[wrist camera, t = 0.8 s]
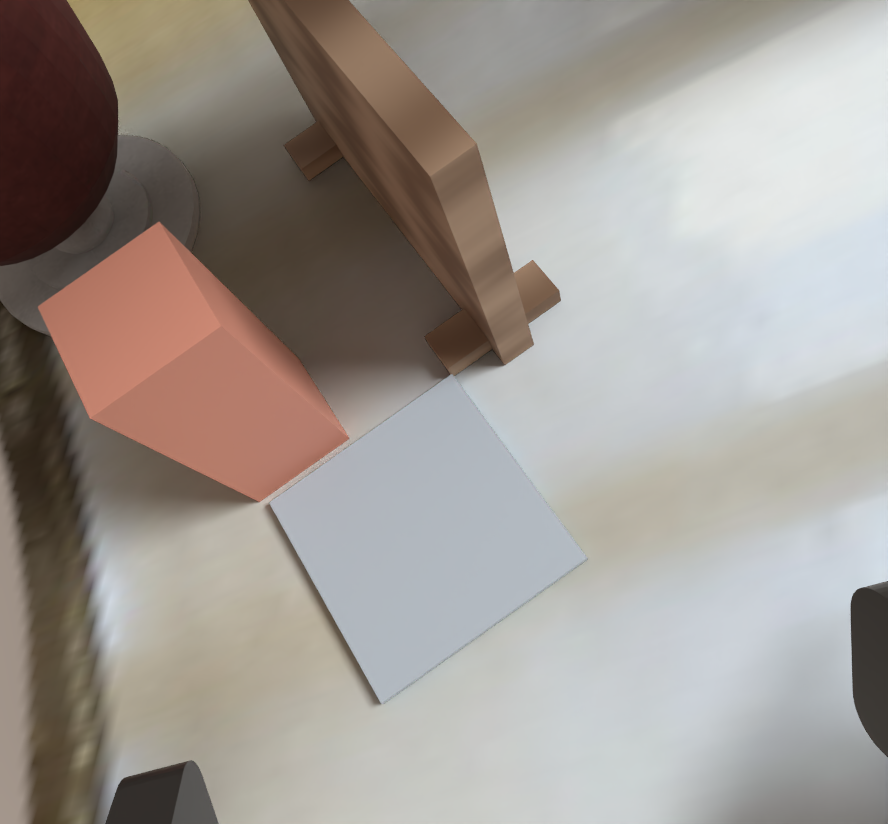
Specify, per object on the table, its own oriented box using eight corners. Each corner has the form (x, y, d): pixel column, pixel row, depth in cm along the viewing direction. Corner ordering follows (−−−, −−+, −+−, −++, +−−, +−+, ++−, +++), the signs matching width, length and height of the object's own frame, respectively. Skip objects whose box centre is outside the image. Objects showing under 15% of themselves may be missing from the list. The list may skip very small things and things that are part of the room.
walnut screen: (282, 145, 42) (127, -95, 29) (374, 81, 42) (259, -188, 29) (464, 393, 35) (366, 221, 22) (574, 316, 35) (540, 98, 22)
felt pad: (272, 504, 35) (268, 502, 35) (453, 376, 35) (452, 373, 35) (384, 703, 31) (381, 703, 31) (588, 559, 31) (587, 558, 31)
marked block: (298, 358, 37) (159, 221, 26) (349, 438, 35) (221, 325, 24) (210, 421, 37) (32, 309, 26) (255, 504, 35) (84, 422, 24)
